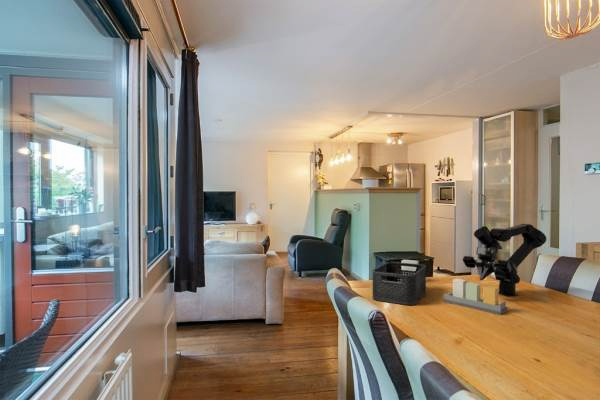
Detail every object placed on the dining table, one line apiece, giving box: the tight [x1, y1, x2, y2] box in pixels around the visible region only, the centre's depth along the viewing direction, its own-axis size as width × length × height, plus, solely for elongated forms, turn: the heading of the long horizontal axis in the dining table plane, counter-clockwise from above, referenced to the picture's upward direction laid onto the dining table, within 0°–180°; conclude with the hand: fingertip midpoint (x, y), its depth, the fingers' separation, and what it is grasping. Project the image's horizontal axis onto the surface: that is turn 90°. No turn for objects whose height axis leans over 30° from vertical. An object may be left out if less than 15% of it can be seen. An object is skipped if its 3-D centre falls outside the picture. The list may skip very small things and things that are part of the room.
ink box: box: [400, 259, 420, 275], centre depth 187 cm, size 9×5×12 cm, turn 62°
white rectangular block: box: [452, 277, 468, 298], centre depth 152 cm, size 4×4×8 cm
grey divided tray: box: [443, 291, 509, 316], centre depth 146 cm, size 8×23×3 cm, turn 41°
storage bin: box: [371, 261, 427, 306], centre depth 162 cm, size 29×19×13 cm
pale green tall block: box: [466, 282, 481, 301], centre depth 145 cm, size 4×4×8 cm
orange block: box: [482, 285, 499, 306], centre depth 140 cm, size 4×4×8 cm
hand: (481, 279), depth 150 cm, fingers closed
